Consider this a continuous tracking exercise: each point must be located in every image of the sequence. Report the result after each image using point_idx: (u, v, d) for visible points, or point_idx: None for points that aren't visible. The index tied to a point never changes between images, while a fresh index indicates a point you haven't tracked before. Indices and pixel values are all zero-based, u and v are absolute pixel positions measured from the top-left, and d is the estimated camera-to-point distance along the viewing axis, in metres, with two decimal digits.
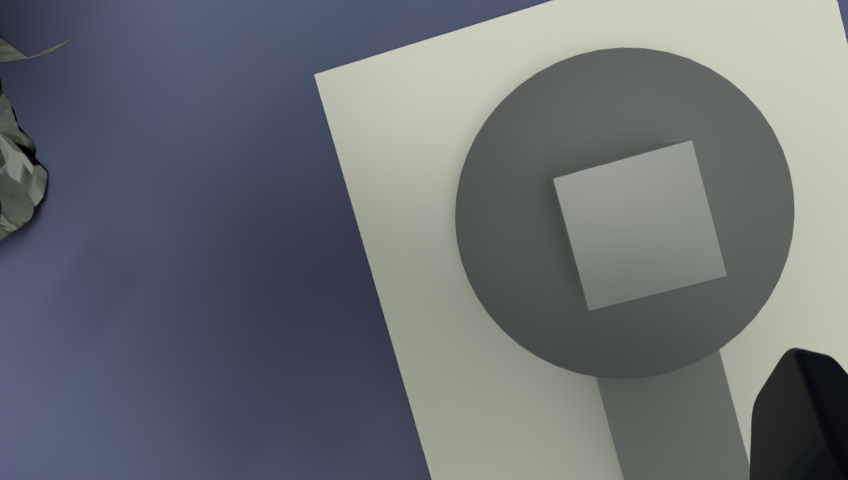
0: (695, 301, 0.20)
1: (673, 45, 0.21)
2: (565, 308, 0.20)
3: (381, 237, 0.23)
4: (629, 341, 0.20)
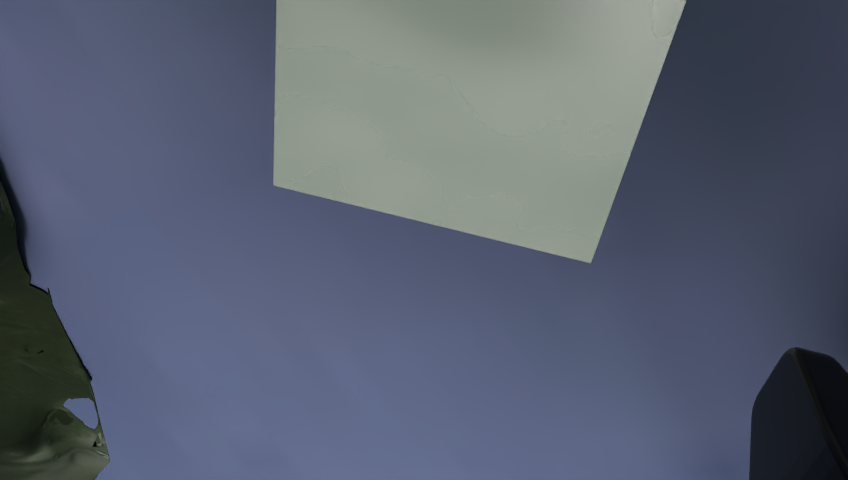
0: None
1: None
2: None
3: None
4: None
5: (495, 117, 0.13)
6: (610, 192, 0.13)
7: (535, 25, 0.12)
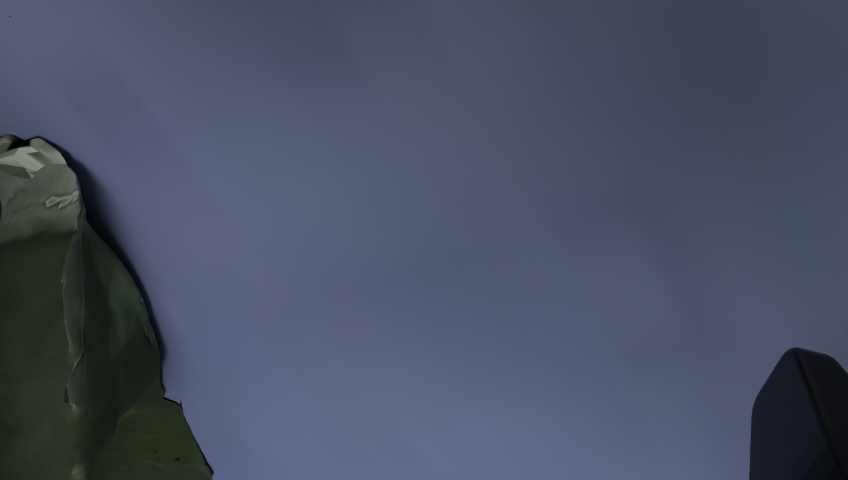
0: None
1: None
2: None
3: None
4: None
5: None
6: None
7: None
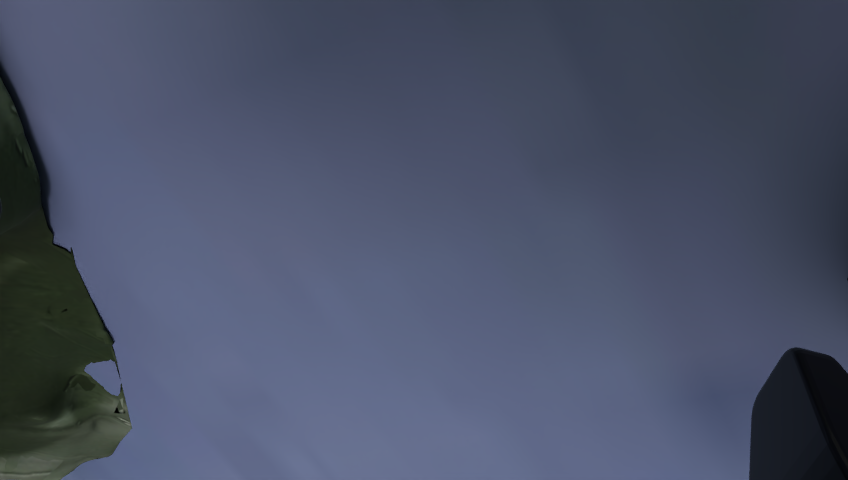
0: None
1: None
2: None
3: None
4: None
5: None
6: None
7: None
